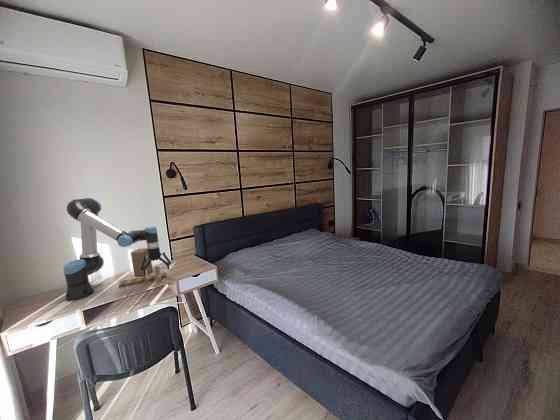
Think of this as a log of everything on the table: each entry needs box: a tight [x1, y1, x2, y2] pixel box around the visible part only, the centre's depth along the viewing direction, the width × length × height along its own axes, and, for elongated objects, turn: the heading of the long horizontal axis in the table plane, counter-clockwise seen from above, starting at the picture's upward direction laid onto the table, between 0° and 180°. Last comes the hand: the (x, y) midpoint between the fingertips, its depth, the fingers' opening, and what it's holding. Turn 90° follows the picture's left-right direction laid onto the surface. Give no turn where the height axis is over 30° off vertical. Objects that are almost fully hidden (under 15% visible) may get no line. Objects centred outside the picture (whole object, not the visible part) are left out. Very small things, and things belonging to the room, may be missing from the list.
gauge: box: [152, 266, 162, 284], centre depth 189 cm, size 4×12×11 cm, turn 25°
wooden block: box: [130, 247, 154, 277], centre depth 204 cm, size 10×10×20 cm
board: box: [118, 271, 168, 289], centre depth 190 cm, size 31×9×2 cm, turn 115°
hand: (157, 275), depth 186 cm, fingers open, 13 cm apart
